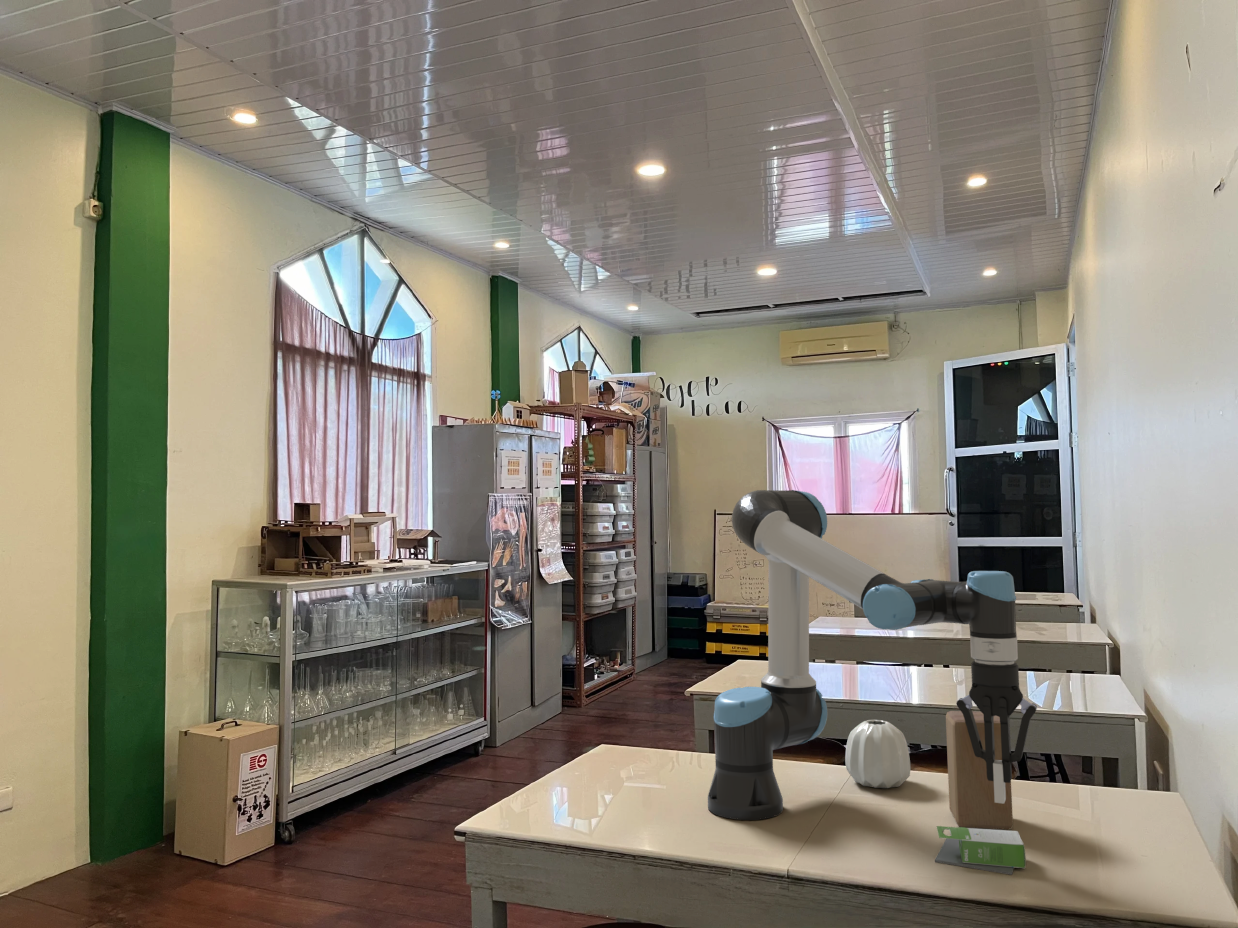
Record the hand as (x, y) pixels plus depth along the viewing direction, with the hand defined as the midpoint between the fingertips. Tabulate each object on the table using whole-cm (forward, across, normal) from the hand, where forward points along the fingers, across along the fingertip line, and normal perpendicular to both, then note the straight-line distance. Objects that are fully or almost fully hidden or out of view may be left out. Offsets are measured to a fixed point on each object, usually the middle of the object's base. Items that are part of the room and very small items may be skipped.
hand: (1000, 800), depth 152 cm
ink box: (+8, +3, 0) cm, 8 cm away
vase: (+10, -29, +35) cm, 47 cm away
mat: (+10, -4, 0) cm, 11 cm away
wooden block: (+10, -6, +19) cm, 22 cm away
